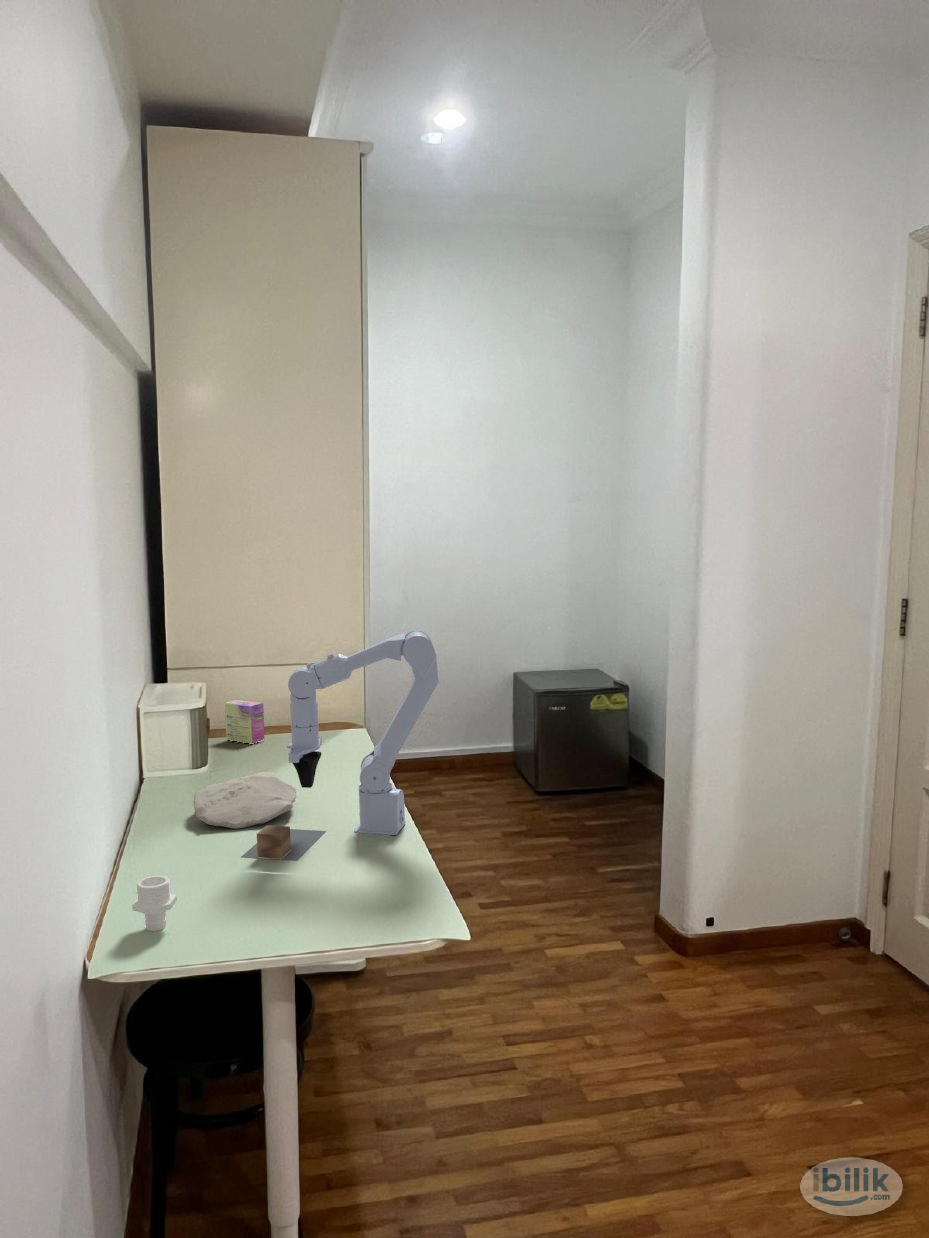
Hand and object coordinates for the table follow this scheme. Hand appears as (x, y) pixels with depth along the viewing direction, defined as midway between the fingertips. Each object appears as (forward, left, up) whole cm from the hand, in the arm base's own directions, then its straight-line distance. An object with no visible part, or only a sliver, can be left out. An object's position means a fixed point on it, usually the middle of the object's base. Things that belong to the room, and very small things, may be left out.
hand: (307, 786), depth 201 cm
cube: (+2, +15, -5) cm, 15 cm away
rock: (+19, -12, -10) cm, 25 cm away
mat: (+2, +9, -10) cm, 13 cm away
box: (+47, -72, -10) cm, 87 cm away
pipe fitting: (+9, +48, -10) cm, 50 cm away
